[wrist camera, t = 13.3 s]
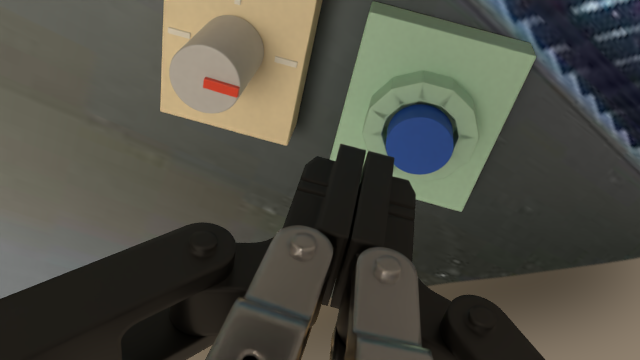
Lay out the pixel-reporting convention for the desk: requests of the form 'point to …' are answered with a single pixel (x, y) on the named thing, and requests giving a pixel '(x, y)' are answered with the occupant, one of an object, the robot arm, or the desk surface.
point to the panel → (273, 74)
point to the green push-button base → (433, 92)
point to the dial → (217, 64)
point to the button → (420, 139)
